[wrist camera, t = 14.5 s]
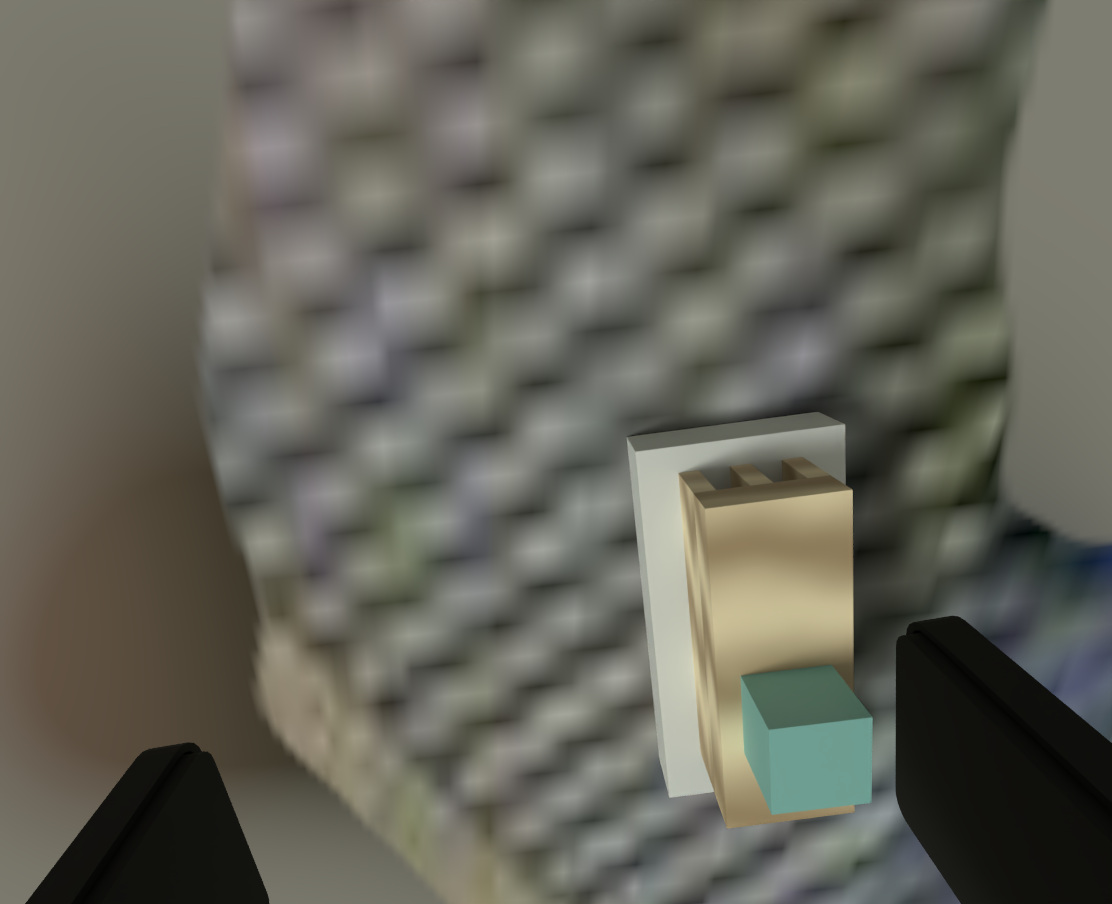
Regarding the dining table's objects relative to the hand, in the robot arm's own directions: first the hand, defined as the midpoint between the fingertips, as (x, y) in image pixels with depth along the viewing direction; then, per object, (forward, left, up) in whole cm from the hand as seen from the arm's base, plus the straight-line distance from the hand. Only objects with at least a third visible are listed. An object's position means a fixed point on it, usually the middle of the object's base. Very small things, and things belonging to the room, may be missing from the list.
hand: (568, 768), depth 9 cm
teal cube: (+13, +9, -17) cm, 23 cm away
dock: (+12, +9, -25) cm, 29 cm away
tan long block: (+11, +9, -22) cm, 26 cm away
